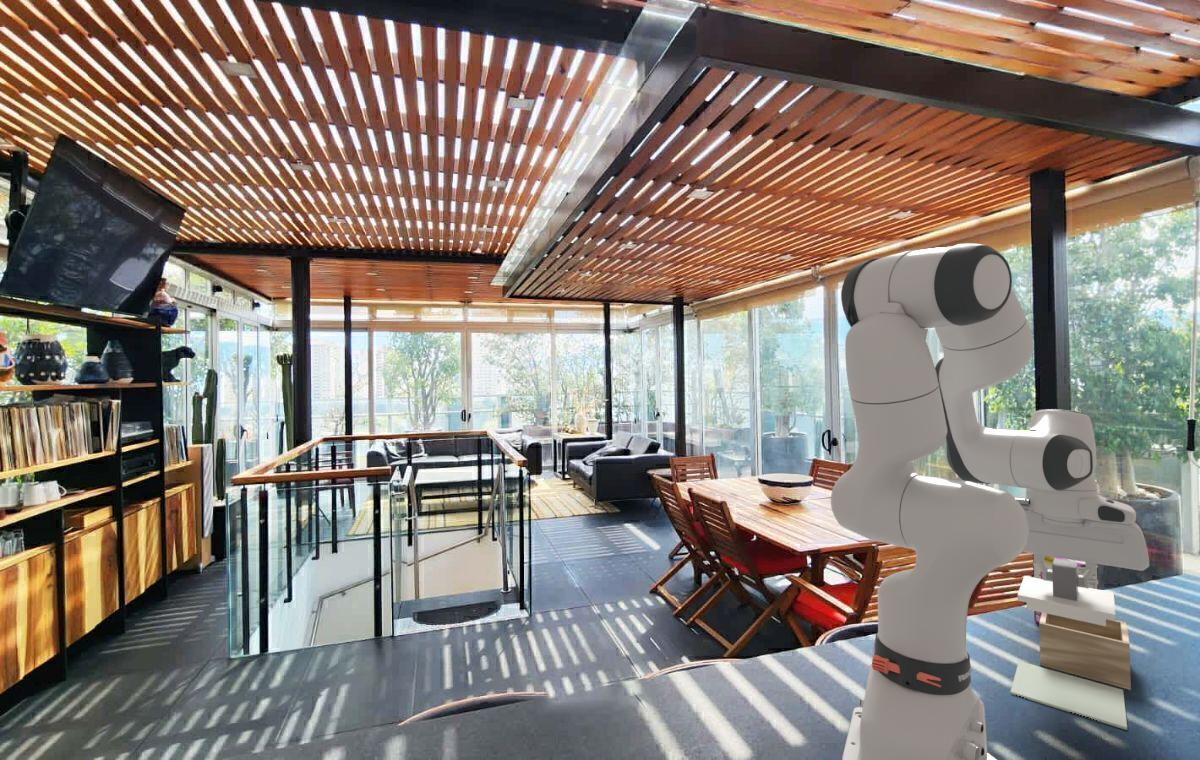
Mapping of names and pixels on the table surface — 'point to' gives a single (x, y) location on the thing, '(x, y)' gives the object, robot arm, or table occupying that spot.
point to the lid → (1067, 596)
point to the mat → (1070, 694)
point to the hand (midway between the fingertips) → (1065, 583)
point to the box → (1086, 649)
